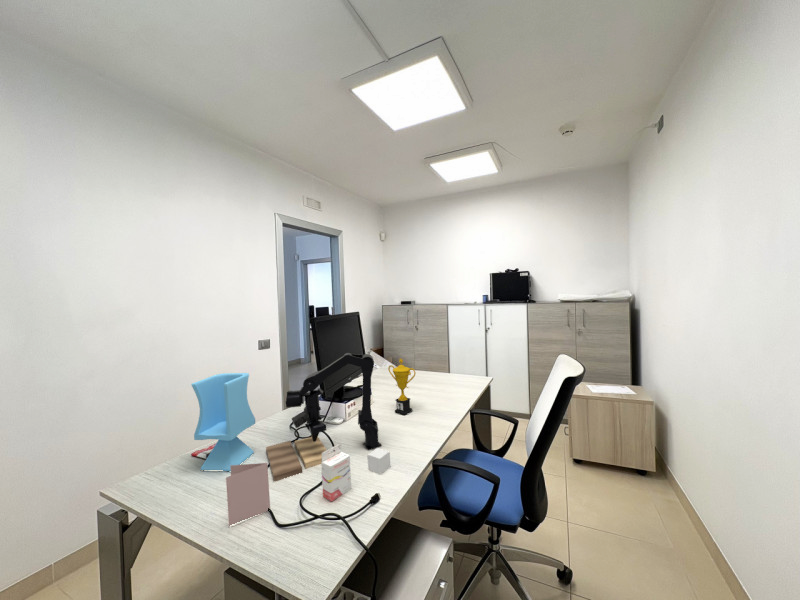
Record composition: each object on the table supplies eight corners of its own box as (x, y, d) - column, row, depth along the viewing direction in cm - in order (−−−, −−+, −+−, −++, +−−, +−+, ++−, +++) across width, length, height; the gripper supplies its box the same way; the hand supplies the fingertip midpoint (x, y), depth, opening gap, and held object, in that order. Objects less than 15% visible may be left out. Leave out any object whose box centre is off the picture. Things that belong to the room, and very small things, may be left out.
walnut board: (302, 472, 116) (302, 467, 116) (274, 482, 111) (273, 476, 111) (290, 445, 139) (289, 440, 139) (266, 451, 134) (266, 447, 134)
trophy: (384, 411, 172) (382, 358, 172) (396, 406, 180) (393, 355, 179) (412, 419, 160) (409, 361, 160) (422, 412, 168) (420, 358, 167)
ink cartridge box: (332, 502, 98) (329, 457, 98) (322, 496, 101) (320, 452, 101) (352, 488, 105) (349, 446, 105) (342, 483, 108) (340, 442, 108)
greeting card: (271, 508, 97) (268, 461, 97) (261, 525, 90) (258, 475, 90) (234, 510, 97) (231, 463, 97) (222, 528, 89) (218, 478, 89)
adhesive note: (368, 470, 116) (367, 454, 115) (378, 462, 120) (377, 447, 120) (380, 474, 112) (379, 458, 112) (390, 466, 117) (389, 451, 117)
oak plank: (330, 460, 123) (330, 455, 123) (305, 468, 118) (305, 463, 118) (317, 439, 143) (316, 435, 143) (294, 445, 138) (294, 441, 138)
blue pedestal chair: (196, 472, 120) (190, 383, 119) (224, 451, 135) (219, 373, 135) (232, 473, 118) (227, 383, 117) (257, 452, 133) (252, 372, 133)
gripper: (288, 403, 135) (290, 438, 135) (297, 416, 119) (299, 456, 119) (314, 397, 140) (316, 431, 141) (325, 410, 124) (327, 448, 125)
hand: (314, 441), depth 131 cm, fingers closed
